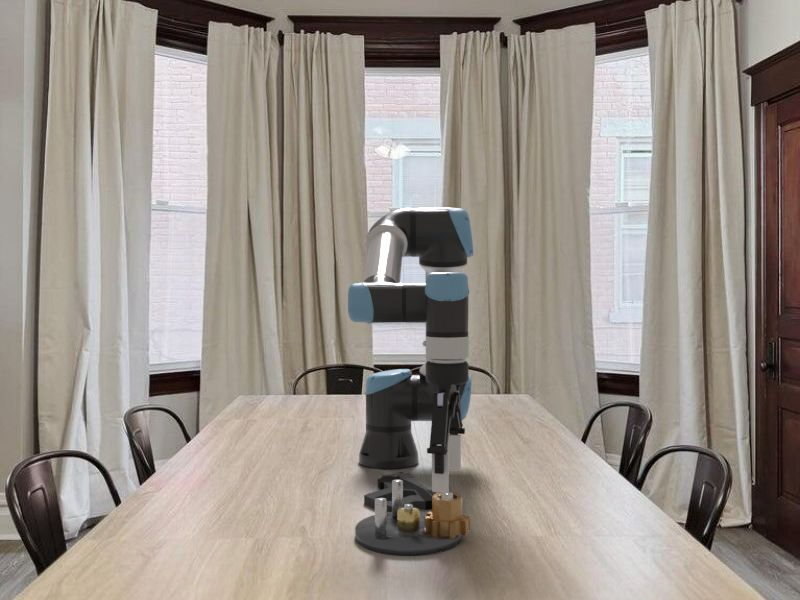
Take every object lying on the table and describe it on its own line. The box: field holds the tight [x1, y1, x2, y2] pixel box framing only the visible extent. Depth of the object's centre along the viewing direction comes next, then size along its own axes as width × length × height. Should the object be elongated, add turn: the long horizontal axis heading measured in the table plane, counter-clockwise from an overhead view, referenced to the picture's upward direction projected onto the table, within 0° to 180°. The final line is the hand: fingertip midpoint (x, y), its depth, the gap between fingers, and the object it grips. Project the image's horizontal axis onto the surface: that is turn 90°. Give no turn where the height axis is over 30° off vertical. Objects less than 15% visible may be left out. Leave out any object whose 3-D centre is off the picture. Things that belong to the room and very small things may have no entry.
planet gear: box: [425, 492, 471, 538], centre depth 124 cm, size 8×8×6 cm
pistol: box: [363, 471, 438, 512], centre depth 151 cm, size 2×26×15 cm
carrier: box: [354, 480, 463, 557], centre depth 126 cm, size 19×19×8 cm
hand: (447, 480), depth 125 cm, fingers open, 13 cm apart
